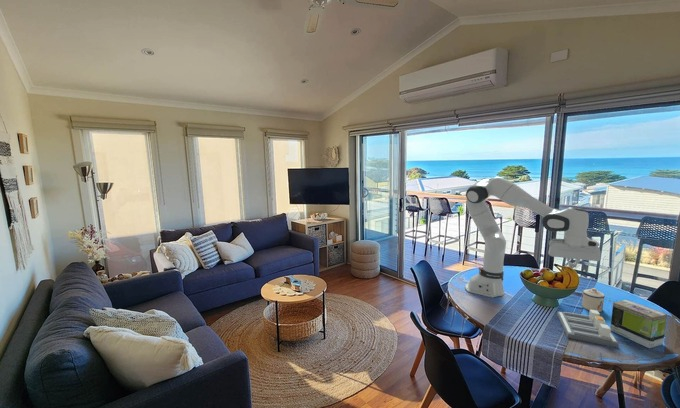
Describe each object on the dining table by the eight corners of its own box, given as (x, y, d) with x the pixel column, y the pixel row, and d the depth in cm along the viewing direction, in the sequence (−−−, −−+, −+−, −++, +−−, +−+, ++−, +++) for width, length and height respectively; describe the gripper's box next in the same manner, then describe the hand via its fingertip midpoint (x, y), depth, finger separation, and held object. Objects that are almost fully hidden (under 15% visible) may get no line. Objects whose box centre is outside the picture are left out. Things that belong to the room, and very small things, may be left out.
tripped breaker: (595, 329, 139) (597, 318, 138) (593, 325, 142) (594, 315, 141) (603, 330, 137) (605, 320, 136) (601, 327, 140) (602, 316, 140)
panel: (567, 337, 136) (568, 323, 135) (557, 314, 156) (558, 302, 155) (618, 347, 128) (620, 333, 127) (600, 322, 148) (602, 309, 147)
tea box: (663, 344, 130) (668, 313, 127) (648, 349, 127) (653, 317, 125) (623, 326, 144) (626, 298, 142) (608, 330, 141) (612, 301, 139)
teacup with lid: (601, 314, 155) (604, 293, 153) (579, 308, 162) (582, 288, 160) (604, 306, 163) (607, 286, 161) (583, 301, 170) (585, 282, 168)
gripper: (550, 239, 145) (548, 266, 147) (603, 243, 136) (600, 272, 138) (548, 236, 151) (545, 262, 153) (599, 240, 142) (595, 267, 144)
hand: (572, 266), depth 145 cm, fingers closed
